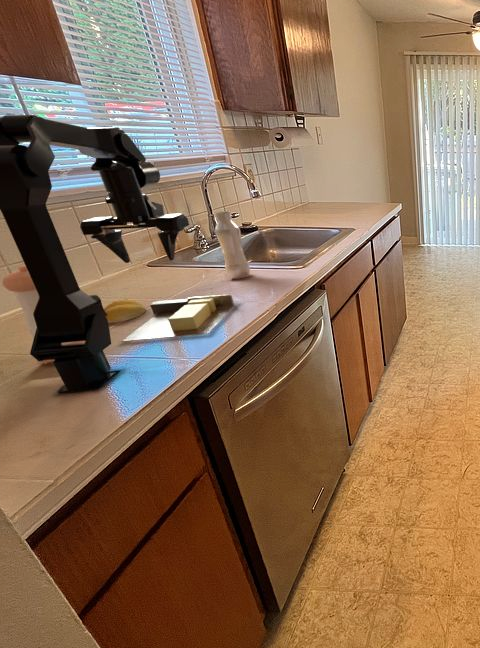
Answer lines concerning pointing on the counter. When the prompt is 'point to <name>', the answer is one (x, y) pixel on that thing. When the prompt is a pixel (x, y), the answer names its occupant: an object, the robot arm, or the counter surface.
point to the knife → (178, 304)
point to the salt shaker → (26, 297)
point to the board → (162, 328)
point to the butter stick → (189, 317)
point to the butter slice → (203, 301)
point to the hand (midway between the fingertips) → (150, 261)
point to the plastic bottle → (231, 246)
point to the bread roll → (123, 310)
